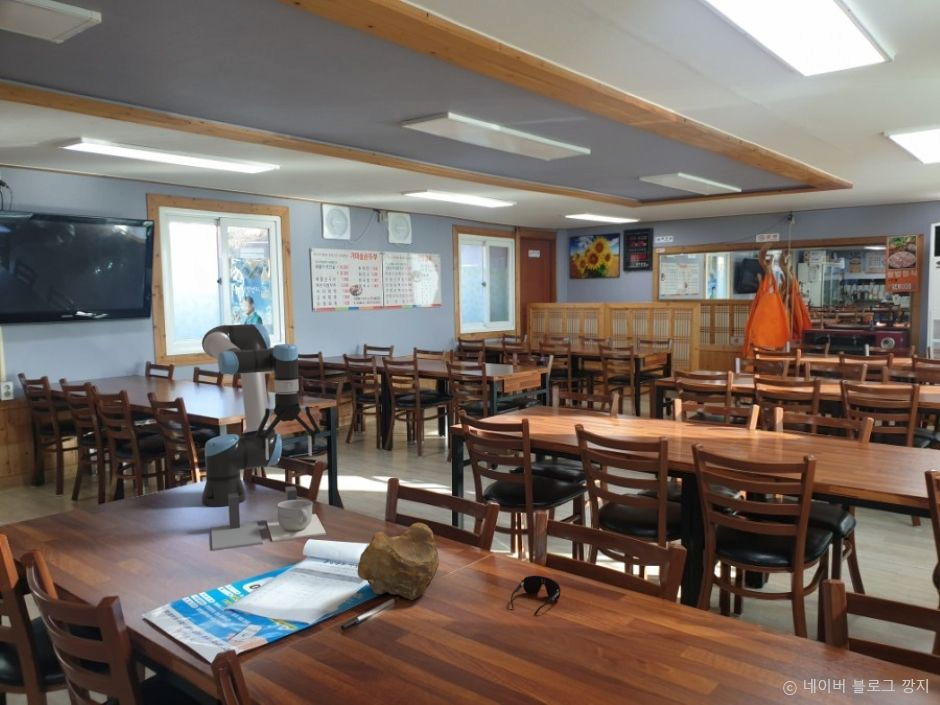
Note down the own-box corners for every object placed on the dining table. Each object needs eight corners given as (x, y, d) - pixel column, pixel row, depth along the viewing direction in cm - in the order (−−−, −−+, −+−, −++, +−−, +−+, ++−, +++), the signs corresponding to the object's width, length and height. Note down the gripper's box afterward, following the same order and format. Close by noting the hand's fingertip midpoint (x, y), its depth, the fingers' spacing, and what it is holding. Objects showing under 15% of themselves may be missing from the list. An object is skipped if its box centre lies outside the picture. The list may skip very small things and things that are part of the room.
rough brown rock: (395, 619, 162) (399, 557, 160) (348, 594, 172) (351, 535, 171) (460, 589, 180) (465, 533, 178) (414, 568, 190) (418, 515, 189)
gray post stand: (211, 528, 224) (209, 495, 223) (256, 522, 229) (255, 490, 228) (212, 550, 205) (210, 515, 204) (262, 543, 210) (261, 509, 209)
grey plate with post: (266, 520, 231) (265, 489, 230) (315, 514, 236) (314, 484, 236) (272, 541, 211) (271, 507, 210) (326, 534, 217) (325, 501, 216)
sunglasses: (564, 598, 170) (562, 580, 169) (544, 624, 160) (542, 605, 160) (525, 590, 175) (524, 572, 174) (504, 614, 166) (503, 595, 165)
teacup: (275, 525, 224) (274, 500, 224) (309, 520, 229) (308, 496, 228) (283, 539, 212) (282, 513, 211) (318, 533, 216) (318, 508, 216)
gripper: (246, 396, 218) (249, 463, 220) (327, 391, 227) (329, 456, 229) (245, 393, 225) (248, 457, 227) (324, 388, 234) (325, 451, 236)
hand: (288, 457), depth 228 cm, fingers open, 13 cm apart
